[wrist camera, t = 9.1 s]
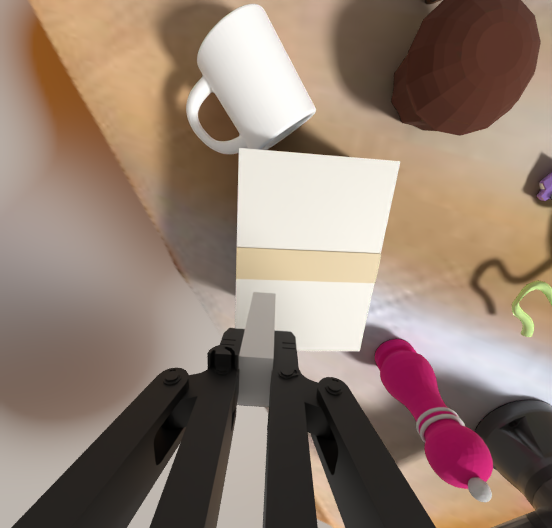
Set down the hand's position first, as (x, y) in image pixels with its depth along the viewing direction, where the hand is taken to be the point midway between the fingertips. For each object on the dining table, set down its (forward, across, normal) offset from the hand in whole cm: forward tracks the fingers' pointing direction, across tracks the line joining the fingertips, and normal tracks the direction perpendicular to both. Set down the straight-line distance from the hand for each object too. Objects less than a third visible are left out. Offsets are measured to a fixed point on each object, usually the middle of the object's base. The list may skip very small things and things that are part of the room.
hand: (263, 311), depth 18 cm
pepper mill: (+20, -21, +18) cm, 34 cm away
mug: (+20, +4, -16) cm, 25 cm away
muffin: (+20, -17, -20) cm, 33 cm away
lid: (+10, -4, 0) cm, 11 cm away
